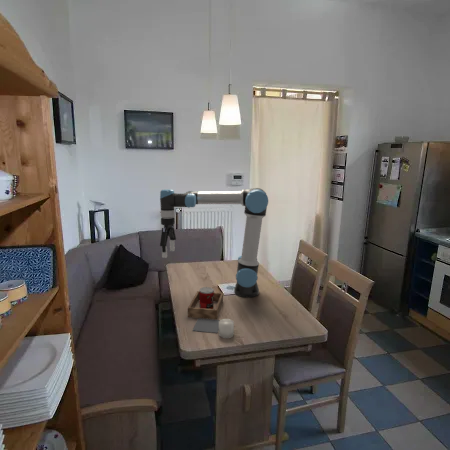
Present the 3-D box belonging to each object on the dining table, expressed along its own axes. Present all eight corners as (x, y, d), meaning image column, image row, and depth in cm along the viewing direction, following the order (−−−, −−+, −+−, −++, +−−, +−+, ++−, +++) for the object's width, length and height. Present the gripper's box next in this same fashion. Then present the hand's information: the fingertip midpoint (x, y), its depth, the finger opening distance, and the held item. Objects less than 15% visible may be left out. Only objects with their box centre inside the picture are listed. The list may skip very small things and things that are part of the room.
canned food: (208, 313, 167) (208, 293, 165) (196, 309, 171) (196, 290, 169) (216, 308, 174) (216, 289, 172) (204, 304, 178) (204, 285, 176)
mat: (221, 320, 160) (221, 320, 160) (217, 333, 148) (217, 332, 148) (198, 318, 161) (198, 318, 161) (192, 331, 149) (192, 330, 149)
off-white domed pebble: (234, 331, 150) (234, 319, 149) (232, 338, 144) (233, 326, 142) (219, 329, 151) (220, 318, 150) (217, 337, 144) (217, 325, 143)
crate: (222, 301, 182) (223, 293, 181) (216, 319, 161) (216, 310, 160) (197, 299, 184) (197, 291, 183) (187, 317, 163) (187, 308, 162)
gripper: (168, 213, 190) (169, 248, 194) (153, 221, 165) (154, 260, 169) (180, 214, 189) (181, 248, 193) (166, 221, 164) (167, 260, 168)
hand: (168, 254), depth 181 cm, fingers open, 13 cm apart
